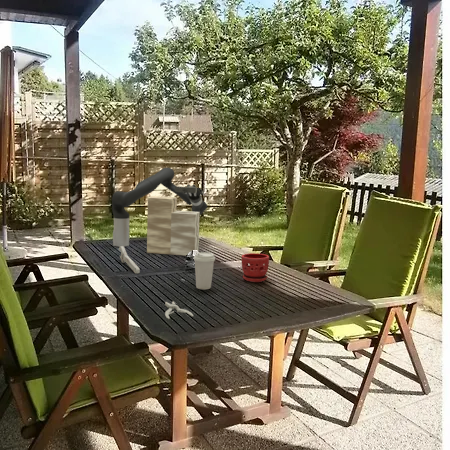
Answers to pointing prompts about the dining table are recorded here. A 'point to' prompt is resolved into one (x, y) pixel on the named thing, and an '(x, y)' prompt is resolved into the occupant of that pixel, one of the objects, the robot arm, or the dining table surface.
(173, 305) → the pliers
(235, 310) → the dining table surface
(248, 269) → the plant pot
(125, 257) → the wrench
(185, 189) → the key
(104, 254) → the dining table surface
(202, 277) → the coffee cup
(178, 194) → the robot arm
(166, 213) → the step stand
